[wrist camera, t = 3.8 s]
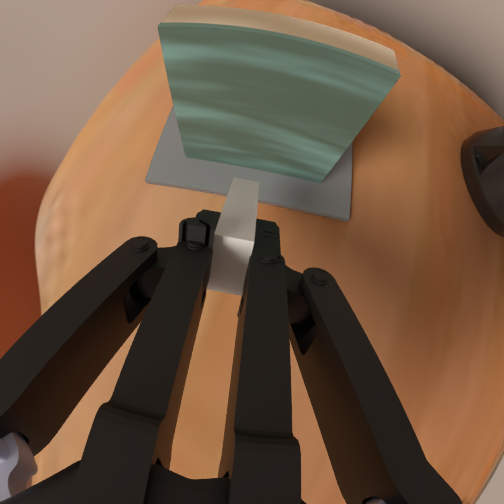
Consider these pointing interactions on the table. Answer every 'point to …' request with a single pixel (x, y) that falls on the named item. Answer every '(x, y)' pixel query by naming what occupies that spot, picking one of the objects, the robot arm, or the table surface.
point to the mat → (251, 178)
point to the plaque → (270, 88)
